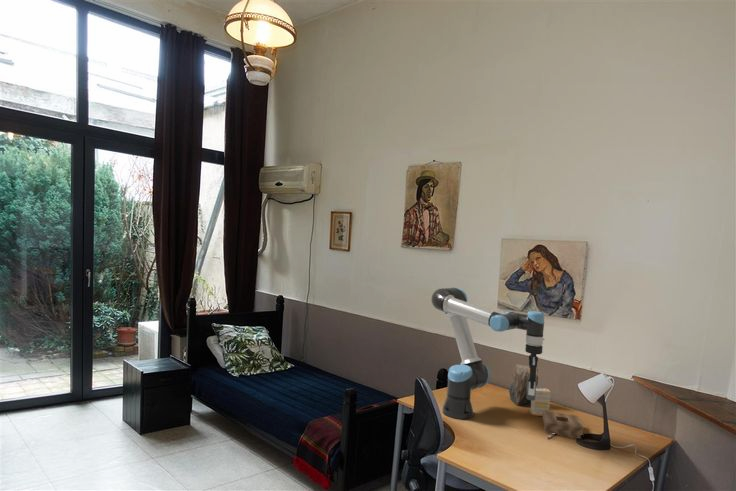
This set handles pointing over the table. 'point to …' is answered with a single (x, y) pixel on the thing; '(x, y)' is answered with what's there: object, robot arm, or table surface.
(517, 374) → the brown rock
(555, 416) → the socket board
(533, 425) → the table surface
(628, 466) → the table surface
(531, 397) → the marker peg
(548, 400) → the supplement box
